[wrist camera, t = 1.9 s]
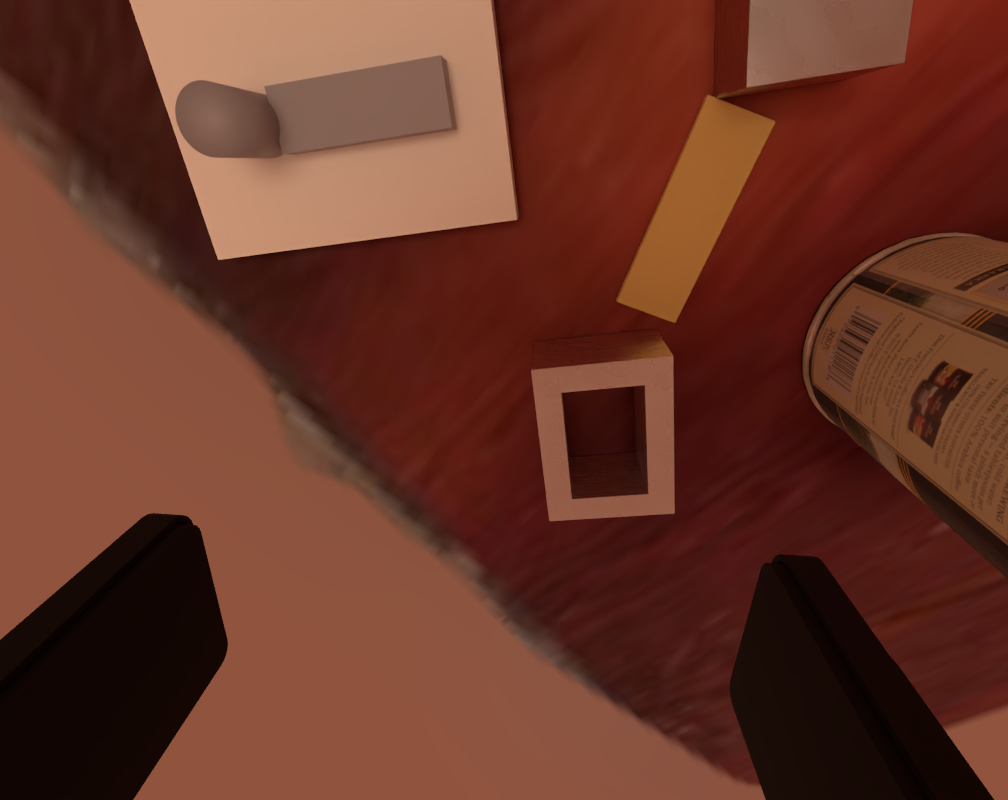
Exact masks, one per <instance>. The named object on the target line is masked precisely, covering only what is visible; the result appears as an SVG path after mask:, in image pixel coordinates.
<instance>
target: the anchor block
mask: <svg viewBox="0 0 1008 800" xmlns="http://www.w3.org/2000/svg"><path fill="white" fill-rule="evenodd" d="M912 7H913V0H716V7H715V57H714V97H715V98H716V99H723V98H729V97H736V96H742V95H748V94H755V93H761V92H768V91H774V90H781V89H787V88H794V87H800V86H806V85H813V84H819V83H826V82H832V81H839V80H844V79H848V78H852V77H855V76H859V75H862V74H866V73H869V72H873V71H877V70H880V69H884V68H887V67H891V66H894V65H898V64H902V63H905V56H906V49H907V42H908V35H909V28H910V21H911V14H912Z"/></svg>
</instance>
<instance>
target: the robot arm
mask: <svg viewBox="0 0 1008 800" xmlns="http://www.w3.org/2000/svg"><path fill="white" fill-rule="evenodd" d="M227 646H228V642H227V636H226V632H225V628H224V624H223V620H222V616H221V612H220V608H219V604H218V600H217V595H216V591H215V587H214V583H213V580H212V575H211V571H210V567H209V563H208V559H207V555H206V551H205V547H204V543H203V538H202V535H201V531H200V529H199V528H198V527H197V526H196V525H193V523H192V521H191V520H190V519H189V518H188V517H187V516H183V515H170V514H154V513H153V514H148V515H146V516H144V517H143V518H141V519H140V520H139V521H138V522H137V523H136V524H134V525H133V526H132V527H131V528H130V529H128V530H127V531H126V532H125V533H124V534H123V535H121V536H120V537H119V538H118V539H117V540H116V541H115V542H113V543H112V544H111V545H110V546H109V547H108V548H107V549H105V550H104V551H103V552H102V553H101V554H99V555H98V556H97V557H96V558H95V559H94V560H92V561H91V562H90V563H89V564H88V565H87V566H86V567H84V568H83V569H82V570H81V571H80V572H79V573H77V574H76V575H75V576H74V577H73V578H72V579H70V580H69V581H68V582H67V583H66V584H65V585H64V586H62V587H61V588H60V589H59V590H58V591H56V592H55V593H54V594H53V595H52V596H51V597H50V598H48V599H47V600H46V601H45V602H44V603H43V604H41V605H40V606H39V607H38V608H37V609H36V610H34V612H32V613H31V614H30V615H29V616H28V617H26V618H25V619H24V620H23V621H22V622H21V623H19V624H18V625H17V626H16V627H15V628H14V629H12V630H11V631H10V632H9V633H8V634H7V635H5V636H4V637H3V638H2V639H1V640H0V800H133V799H134V798H135V796H136V795H137V793H138V791H139V790H140V788H141V787H142V785H143V784H144V782H145V781H146V779H147V778H148V776H149V775H150V773H151V772H152V770H153V769H154V767H155V765H156V764H157V762H158V761H159V759H160V758H161V756H162V755H163V753H164V752H165V750H166V749H167V747H168V746H169V744H170V743H171V741H172V739H173V738H174V737H175V735H176V733H177V732H178V730H179V729H180V727H181V726H182V724H183V723H184V721H185V720H186V718H187V717H188V715H189V714H190V712H191V711H192V709H193V707H194V706H195V704H196V703H197V701H198V700H199V698H200V697H201V695H202V694H203V692H204V690H205V689H206V687H207V686H208V685H209V683H210V681H211V680H212V678H213V677H214V675H215V674H216V672H217V671H218V669H219V668H220V666H221V664H222V663H223V661H224V658H225V656H226V652H227ZM730 695H731V701H732V705H733V708H734V711H735V714H736V716H737V719H738V722H739V725H740V728H741V731H742V733H743V736H744V739H745V742H746V745H747V748H748V751H749V753H750V756H751V759H752V762H753V765H754V768H755V770H756V773H757V776H758V779H759V782H760V785H761V787H762V790H763V793H764V796H765V799H766V800H994V799H993V798H992V796H991V795H990V793H989V792H988V790H987V789H986V788H985V786H984V785H983V783H982V782H981V781H980V779H979V778H978V777H977V775H976V774H975V772H974V771H973V770H972V768H971V767H970V765H969V764H968V763H967V761H966V760H965V758H964V757H963V756H962V754H961V753H960V751H959V750H958V749H957V747H956V746H955V744H954V743H953V742H952V740H951V739H950V737H949V736H948V735H947V733H946V732H945V730H944V729H943V728H942V726H941V725H940V723H939V722H938V721H937V719H936V718H935V716H934V715H933V714H932V712H931V711H930V709H929V708H928V707H927V705H926V704H925V702H924V701H923V700H922V698H921V697H920V695H919V694H918V693H917V691H916V690H915V688H914V687H913V686H912V684H911V683H910V681H909V680H908V679H907V677H906V676H905V674H904V673H903V672H902V670H901V669H900V667H899V666H898V665H897V664H896V663H895V661H894V660H893V659H892V658H891V657H890V656H889V654H888V653H887V652H886V650H885V649H884V647H883V646H882V644H881V643H880V642H879V640H878V639H877V637H876V636H875V635H874V633H873V632H872V630H871V629H870V628H869V626H868V625H867V623H866V622H865V621H864V619H863V618H862V616H861V615H860V614H859V612H858V611H857V609H856V608H855V607H854V605H853V604H852V602H851V601H850V600H849V598H848V597H847V595H846V594H845V592H844V591H843V590H842V588H841V587H840V585H839V584H838V583H837V581H836V580H835V578H834V577H833V576H832V574H831V573H830V571H829V570H828V569H827V567H826V566H825V564H824V563H823V562H822V561H821V560H820V559H819V558H817V557H813V556H797V555H782V554H780V555H776V557H775V558H774V559H773V561H772V563H765V564H764V565H763V566H762V568H761V571H760V575H759V578H758V582H757V586H756V589H755V593H754V596H753V600H752V604H751V607H750V611H749V615H748V618H747V622H746V625H745V629H744V633H743V636H742V640H741V644H740V647H739V651H738V654H737V658H736V662H735V665H734V669H733V673H732V676H731V681H730Z"/></svg>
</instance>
